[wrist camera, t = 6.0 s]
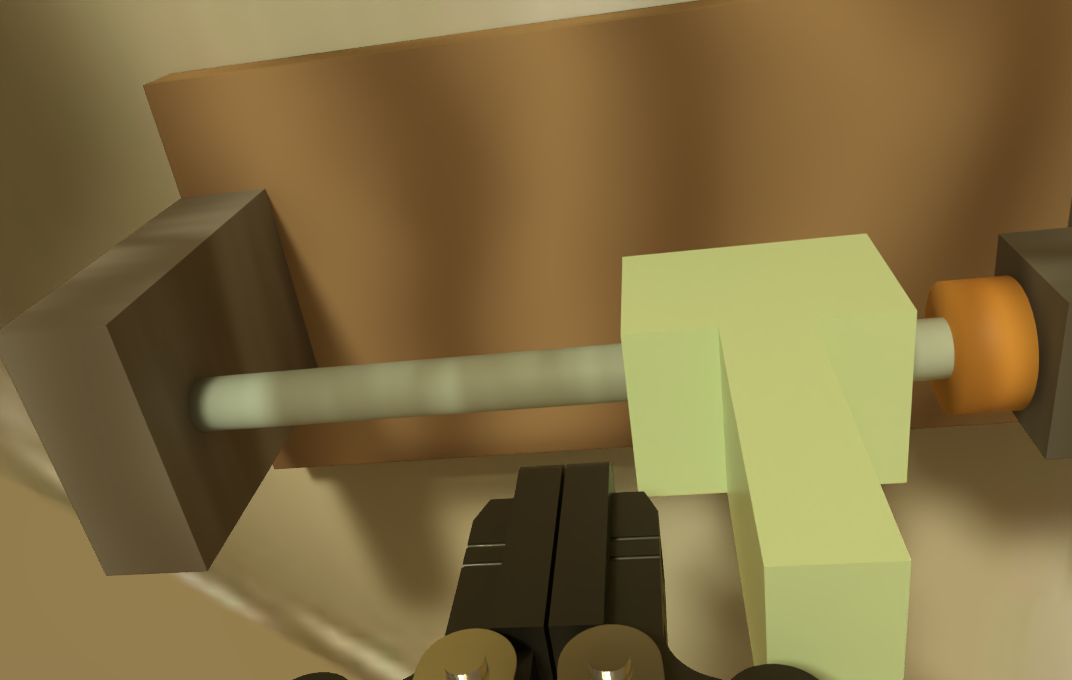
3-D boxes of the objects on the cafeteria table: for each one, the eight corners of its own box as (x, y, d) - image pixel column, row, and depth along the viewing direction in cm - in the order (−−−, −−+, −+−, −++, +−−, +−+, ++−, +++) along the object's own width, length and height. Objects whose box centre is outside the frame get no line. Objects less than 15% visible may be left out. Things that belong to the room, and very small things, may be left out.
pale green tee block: (637, 400, 20) (642, 774, 12) (622, 257, 19) (614, 572, 10) (861, 383, 20) (1037, 771, 11) (866, 233, 18) (1076, 553, 9)
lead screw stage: (290, 441, 29) (152, 672, 21) (170, 73, 24) (-84, 183, 15) (1107, 386, 25) (1343, 640, 17) (1189, -68, 20) (1598, -26, 11)
